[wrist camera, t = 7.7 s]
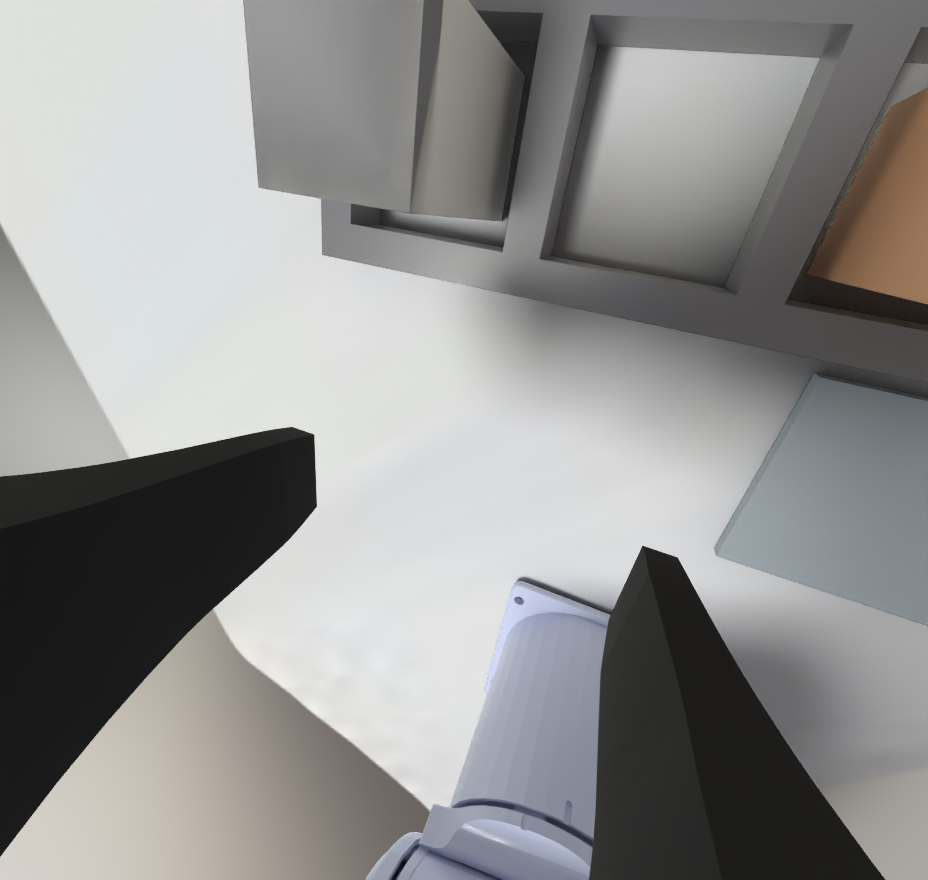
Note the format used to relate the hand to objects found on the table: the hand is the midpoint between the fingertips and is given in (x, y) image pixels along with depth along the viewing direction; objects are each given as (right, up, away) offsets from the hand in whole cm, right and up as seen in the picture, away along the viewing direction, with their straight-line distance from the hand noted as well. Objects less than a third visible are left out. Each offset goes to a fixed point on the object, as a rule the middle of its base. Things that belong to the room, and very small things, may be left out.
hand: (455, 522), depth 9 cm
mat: (+14, 0, +5) cm, 15 cm away
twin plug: (0, +12, +6) cm, 13 cm away
